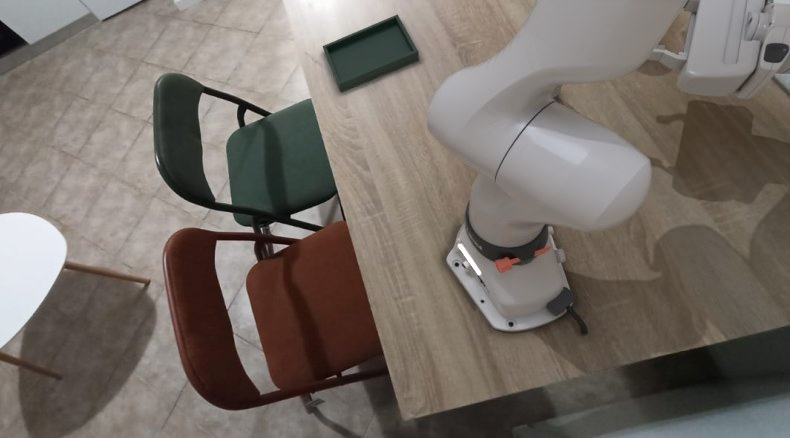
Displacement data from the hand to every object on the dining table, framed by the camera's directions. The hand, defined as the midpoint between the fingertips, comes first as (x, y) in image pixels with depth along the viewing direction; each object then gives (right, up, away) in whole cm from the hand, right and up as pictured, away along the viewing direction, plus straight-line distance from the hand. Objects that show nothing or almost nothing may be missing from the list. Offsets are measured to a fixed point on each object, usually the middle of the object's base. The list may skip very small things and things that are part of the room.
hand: (653, 28), depth 67 cm
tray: (-39, +10, +39) cm, 56 cm away
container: (-5, -5, +22) cm, 23 cm away
